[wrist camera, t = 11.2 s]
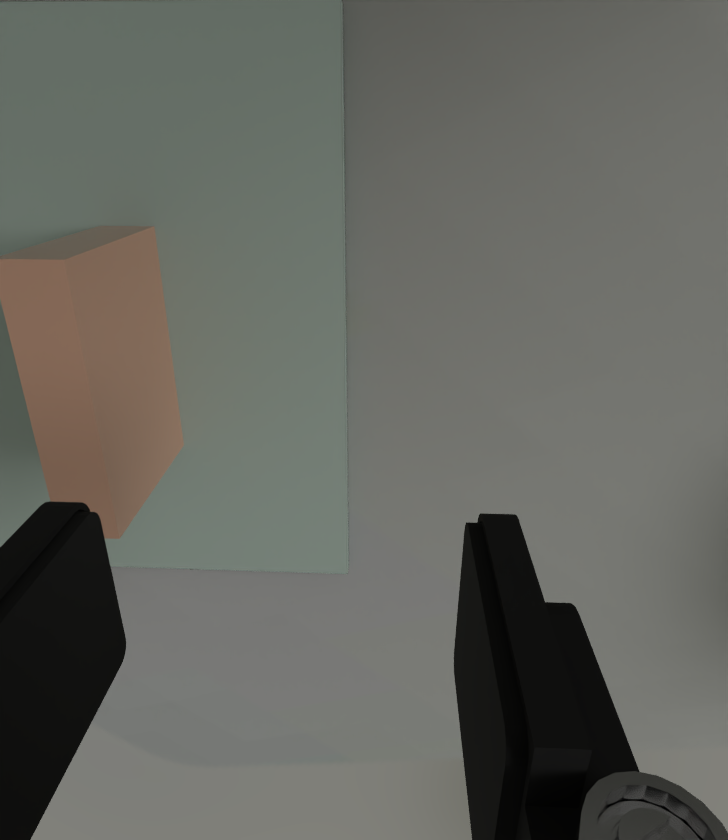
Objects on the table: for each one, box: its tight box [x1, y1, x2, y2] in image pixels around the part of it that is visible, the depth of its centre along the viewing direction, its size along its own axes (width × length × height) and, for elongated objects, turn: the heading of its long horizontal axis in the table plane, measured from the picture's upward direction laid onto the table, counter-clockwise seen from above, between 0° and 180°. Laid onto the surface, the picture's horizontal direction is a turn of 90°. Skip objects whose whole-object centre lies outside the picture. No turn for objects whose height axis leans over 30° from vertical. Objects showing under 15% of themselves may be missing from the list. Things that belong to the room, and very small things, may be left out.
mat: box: [0, 0, 349, 574], centre depth 22 cm, size 20×16×1 cm
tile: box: [0, 226, 184, 539], centre depth 19 cm, size 8×2×6 cm, turn 0°
